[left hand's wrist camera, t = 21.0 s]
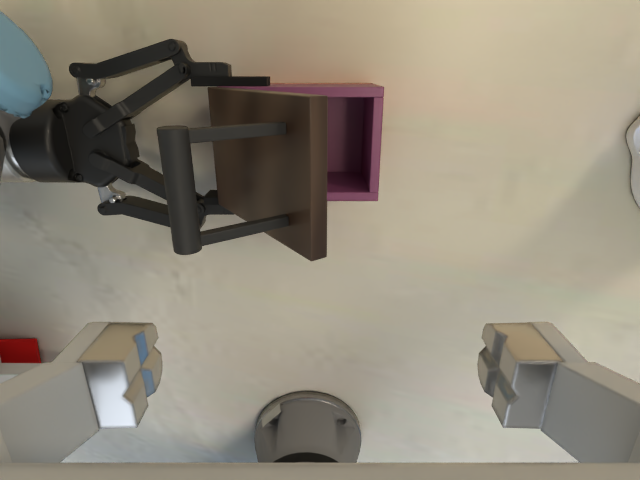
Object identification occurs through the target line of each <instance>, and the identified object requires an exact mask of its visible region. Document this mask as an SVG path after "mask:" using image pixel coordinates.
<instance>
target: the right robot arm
mask: <svg viewBox="0 0 640 480" xmlns="http://www.w3.org/2000/svg"><path fill="white" fill-rule="evenodd" d="M171 59H172V60H173V63H174V65H175V66H173V67H172V68H170V69H169V70H167V71H166V72H165V73H163V74H162V75H160V76H159V77H157V78H156V79H154V80H153V81H151V82H150V83H148V84H147V85H145V86H144V87H142V88H141V89H139V90H138V91H136V92H135V93H133V94H132V95H130V96H129V97H127V98H126V99H125V100H123V101H121V102H119V103H117V104H115V105H114V106H111V105H109V104H108V103H106V102H105V101H103V100H102V99H100V98H99V97H97V96H96V95H95V92H96V90H97V89H98V88H102V87H103V86H104V85H105V82H106V80H105V79H106V78H115V77H119V76H122V75H125V74H128V73H131V72H134V71H137V70H140V69H143V68H147V67H150V66H153V65H156V64H159V63H162V62H165V61H168V60H171ZM69 71H70V73H71V75H72V76H74V77H76V78H77V84H78V91H79V95H78V96H76V97H75V98H73V99H71V100H48V99H49V97H50V96H51V93H52V77H51V74H50V71H49V68H48V66H47V63H46V61H45V59H44V58H43V56H42V54H41V53H40V51H39V50H38V48H37V47H36V46H35V44H34V43H33V42H32V40H31V39H30V38H29V37H28V36H27V34H26V33H25V32H24V31H23V30H22V29H21V28H19V27H18V26H17V25H16V24H15V23H14V22H13V21H12V20H10V19H9V18H8V17H7V16H6V15H5V14H4V13H3V12H1V11H0V183H1V182H36V181H38V182H85V183H89V184H91V185H93V186H95V187H98V191H99V195H100V198H101V202H102V203H101V204H99V205H98V207H97V208H98V212H99V213H100V214H102V215H119V214H123V215H127V216H130V217H134V218H138V219H142V220H145V221H149V222H153V223H157V224H160V225H164V226H168V227H171V226H170V219H169V212H168V205H165V204H162V203H158V202H154V201H151V200H147V199H143V198H140V197H135V196H125V195H126V194H125V192H123V191H120V190H116V189H115V188H113V186H112V183H113V182H114V181H116V180H117V179H118V178H120V179H122V180H124V181H126V182H128V183H131V184H136V185H138V186H140V187H142V188H144V189H146V190H148V191H150V192H152V193H154V194H156V195H158V196H160V197H162V198H163V199H165V200H167V198H166V191H165V184H164V177H163V174H161V173H159V172H157V171H155V170H153V169H151V168H150V167H149V165H148V164H146V163H144V162H142V161H140V160H138V159H137V157H139V151H138V147H137V145H136V142H135V126H134V124H132V123H131V121H130V119H132V118H133V117H135V116H136V115H138V114H139V113H140V112H141V111H142V110H144V109H145V108H147V107H148V106H150V105H151V104H153V103H154V102H156V101H157V100H159V99H160V98H162V97H163V96H165V95H166V94H168V93H170V92H171V91H173V90H174V89H176V88H177V87H179V86H180V85H182V84H183V83H185V82H186V81H188V80H189V79H191V86H269V85H270V77H232V73H231V65H229V64H227V63H223V62H195V61H193V60H192V59H191V57H190V55H189V53H188V48H187V45H186V43H184V42H183V41H179V40H174V39H169V40H166V41H163V42H160V43H157V44H154V45H151V46H148V47H145V48H142V49H139V50H136V51H133V52H130V53H127V54H124V55H121V56H118V57H115V58H112V59H109V60H106V61H103V62H100V63H97V64H94V63H72V64H71V65H70V66H69ZM196 200H197V208H198V217H199V226H200V228H201V227H202V226H203V225H204V223H205V221H206V215H209V214H234V213H232V212H231V211H229V210H227V209H226V208H224V207H223V206H221V205H219V203H218V193H217V190H210V191H209V192H208V193H207V194H206V195H205V196H202V195H200V194H199V193H197V192H196ZM254 439H255V449H256V454H257V459H258V463H356V462H357V459H358V455H359V452H360V446H361V432H360V425H359V421H358V419H357V417H356V415H355V413H354V412H353V411H352V410H351V409H350V407H349V406H347V405H346V404H345V403H344V402H342V401H341V400H339V399H337V398H335V397H333V396H330V395H327V394H324V393H319V392H297V393H292V394H288V395H285V396H282V397H280V398H278V399H276V400H275V401H273V402H272V403H270V404H269V405H268V406H267V407H266V408H265V409H264V410H263V412H262V413H261V415H260V416H259V419H258V421H257V425H256V431H255V437H254Z"/></svg>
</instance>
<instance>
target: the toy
mask: <svg viewBox="0 0 640 480" xmlns="http://www.w3.org/2000/svg"><path fill="white" fill-rule="evenodd" d="M40 364H43V363H41V359H40V354H39V348H38V343H37V339H0V383H3V382H5V381H7V380H9V379H11V378H13V377H15V376H17V375H19V374H21V373H24V372H26V371H28V370H30V369H32V368H34V367H36V366H38V365H40Z"/></svg>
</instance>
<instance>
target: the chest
mask: <svg viewBox="0 0 640 480" xmlns="http://www.w3.org/2000/svg"><path fill="white" fill-rule="evenodd" d="M219 87H228V88H241V89H253V90H265V91H277V92H290V93H302V94H314V95H326V96H328V141H327V201H378V189H379V170H380V152H381V134H382V116H383V97H384V87H382V86H378V85H375V84H372V83H270V85H269V86H219Z"/></svg>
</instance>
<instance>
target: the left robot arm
mask: <svg viewBox="0 0 640 480" xmlns="http://www.w3.org/2000/svg"><path fill="white" fill-rule="evenodd" d="M626 139H627V144H628V147H629V150H630V152H631V155H632V169H631V188H632V193H633V196H634V199H635V201H636V203H637V204H638V206H639V207H640V116H639V117H638V118H637V119H636V120H635V121H634V122H633V124H632V125H631V126H630V127H629V129H628V130H627V134H626ZM157 339H158V334H157V329H156V326H155V325H154V324H153V323H133V322H92V323H88V324H87V325H86V326H85V327H84V328H83V329H82V330H81V331H80V332H79V333H78V334H77V336H76V337H75V338H74V339H73V340H72V341H71V342H70V343H69V344H68V345H67V346H66V347H65V348H64V350H63V351H62V352H61V353H60V354H59V355H58V356H57V357H56V358H55V359H54V360H53V361H52V362H45V363H43V364H40V365H38V366H36V367H34V368H32V369H30V370H28V371H26V372H24V373H21V374H19V375H17V376H15V377H13V378H11V379H9V380H7V381H5V382H3V383H0V480H640V384H639V383H637V382H635V381H633V380H631V379H629V378H627V377H625V376H623V375H621V374H618V373H616V372H614V371H612V370H610V369H608V368H606V367H604V366H602V365H600V364H598V363H595V362H588V361H587V360H586V359H585V358H584V357H583V356H582V355H581V354H580V353H579V352H578V351H577V349H576V348H575V347H574V346H573V345H572V344H571V343H570V342H569V341H568V340H567V339H566V338H565V337H564V335H563V334H562V333H561V332H560V331H559V330H558V329H557V328H556V327H555V326H554V325H553V324H552V323H549V322H527V323H489V324H486V325H485V327H484V329H483V333H482V339H483V341H484V343H485V345H486V347H485V348H484V349H483V350H482V351H481V352H480V353H479V357H478V376H479V379H480V383H481V385H482V387H483V390H484V392H486V393H487V394H489V395H490V396H491V397H493V401H492V407H493V409H494V411H495V413H496V415H497V417H498V419H499V421H500V423H501V424H502V426H503V428H538V429H541V431H542V432H543V433H545V434H546V435H547V436H548V437H550V438H551V439H552V440H553V441H554V442H556V443H557V444H558V445H559V446H561V447H562V448H563V449H564V450H566V451H567V452H568V453H569V454H570V455H572V456H573V457H574V458H575V459H577V460H578V461H579V462H580V463H60V462H61V461H62V460H64V459H65V458H66V457H67V456H68V455H70V454H71V453H72V452H73V451H75V450H76V449H77V448H78V447H80V446H81V445H82V444H83V443H84V442H86V441H87V440H88V439H89V438H91V437H92V436H93V435H94V434H96V433H97V432H98V431H99V429H102V428H137V426H138V425H139V423H140V421H141V419H142V417H143V415H144V413H145V411H146V409H147V407H148V401H147V397H149V396H150V395H151V394H153V393H154V392H156V390H157V387H158V385H159V383H160V379H161V375H162V356H161V353H160V352H159V351H158V350H157V349H156V348H155V347H154V345H155V343H156V341H157Z"/></svg>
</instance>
